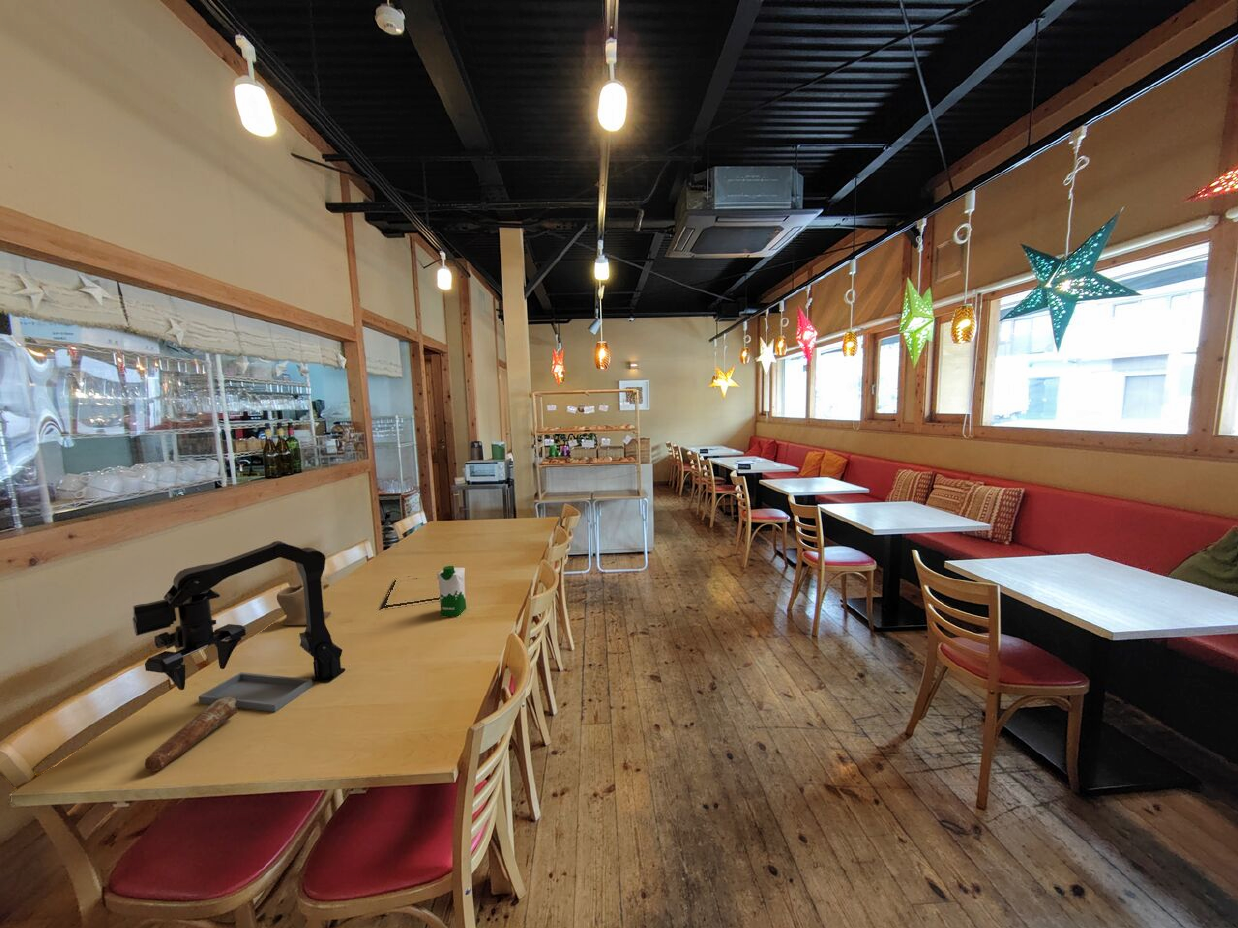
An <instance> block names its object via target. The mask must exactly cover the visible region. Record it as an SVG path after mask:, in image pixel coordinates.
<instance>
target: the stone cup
mask: <svg viewBox="0 0 1238 928" xmlns="http://www.w3.org/2000/svg"><path fill="white" fill-rule="evenodd" d="M276 600H277V601H276V602H277V603H278V605H279V607H280V608H281V609H282V611H283V612H284V613H285V616H286V617H285V618H284V619H282V621H281V625H283V626H307V621H306V611H305V600H304V589H303V583H300V584H293V585H290V586H287V587H285V588H283V589H282V590H280V591H279V592H278V593H277V594H276ZM331 614H332V611H324V619H325V620H326V619H327V618H328V617H330V616H331Z"/></svg>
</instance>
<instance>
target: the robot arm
mask: <svg viewBox="0 0 1238 928" xmlns="http://www.w3.org/2000/svg"><path fill="white" fill-rule="evenodd" d="M279 558H282V559H284V560H288V561H291V562H294V563H295V566H296V569H297V571H298V573H299V576H300V577H301V580H302V584H303V589H304V600H305V611H306V621H307V625H306V628H305V631H303V632H299V633H298V634H299V638H300V644H299V646H300V647H301V648H302V649H303V650H304V651H305V652H306V653H308V654H309V655H310V656H311V657H312V658H313V673H314V676H312V677H311V678H310V679H312V681H318V682H326V683H327V682H328V683H329V682H332V681H333V680H334V679H335V678H337V677H338V676H340V675H341V674H342V673H343V672H345V671H346V668H345V667H342V666H341V665H342V664H341V657H342V654H343V649H342V648H341V647H339V646H337V644H335V643H334V642H333V640H332V638H331V634H330V632H329V630H328V627H327V626H326V623H325V622H326V621H325V620H326V619H324V612H325V611H324V610H325V609H324V600H323V599H324V597H323V587H322V577H323V574H324V572H325V565H326V555H325V554H324V553H323V552H322V551H319V550H317V549H315V548H313V547H309V546H308V547H304V548H300V547H298V546H295V545H291V544H288V543H285V542H284V541H281V540H276V541H275V540H274V541H272V542H271V543H269V544H266V545H263V546H261V547H258V548H256V549H253V550H250V551H248V552H245V553H241V554H239V555H236V556H233V557H230V558H228V559H225V560H223V561H219V562H215V563H207V564H201V565H197V566H192V567H188V568H184V569H182V570H180V571H178V572H177V573H176V575H175V576H174V578H173V582H172V583H173V584H172V586H170V588H169V589H168V591H167V592H166V594H164V595H163V599H162V600H161V599H159V600H157V601H153V602H149V603H148V602H147V603H141V604H140V603H139V604H137V605H136V604H135V605H134V606H132V609H133V617H132V623H133V629H134V633H135V636H136V637H138V636H141V635H145V634H149V633H153V632H156V631H160V630H163V629H167V628H171V625H174V624H175V622H176V621H177V611H176V608H177V610H178V619H179V625H177V626H176V628H175V632H172V633H169V632H167V631H165V632H162V633H160V634H157V635H154V644H155V647H156V648H157V649H162V648H164V647H165V648H166V649H168V650H165V651H163V652H159V653H157V654H155V655H153V656H151V657H148V658H147V659H146V661H145V663H144V669H145V671H146V672H153V673H161V674H165V675H167V676H168V677H169V679H170V680H171V681H172V683H173V684H174V686H176V688H177V689H178V690H179V691H183V690H185V686H186V664H183V662H184V658H185V657H188V656H190V655H192V654H194V653H197V652H198V651H201V650H203V649H205V648H208V647H210V646H211V645H214V646H215V647H216V649H217V657H218V658H217V660H218V665H219V669H220V670H224V669H225V668H226V666H227V665H228V662H229V660H230V659H231V656H232V654H233V652H234V651H235V648H236V647H237V645H238V643H239V642H241V641H242V638H243V637H245V636H246V635H247V632H246V631H247V630H246V628H245V627H244V625H242V624H233V623H231V624H230V623H227V624H226V625H224V626H220V627H219V628H218V627H217V628H216V629H215V630H214V626H215V625H217V620H216V619H213V618H212V609H211V601H210V600H213V599H217V598H220V597H221V594H219V592H218V591H215V590H213V589H212V588H214V587H215V586H217V585H219V584H220V583H221V582H223V581H224V580H226V579H227V578H229V577H232V576H235V575H237V574H238V575H239V573H243V572H244V571H247V570H251V569H253V568H255V567H258V566H261V565H264V564H266V563H269V562H271V561H275V560H276V559H279ZM174 646H175V648H177V649H180V648H181V649H180V650H178V651H169V649H170V648H172V647H174Z"/></svg>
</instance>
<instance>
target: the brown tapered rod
mask: <svg viewBox="0 0 1238 928" xmlns="http://www.w3.org/2000/svg"><path fill="white" fill-rule="evenodd" d="M236 702H237V700H236V698H233V697H228V696H227V697H224V698H221V699H218V700H216V701H215V702H214V703H212V704H211V705H208V706H207V707H206V708H204V709H203V710H202V711H201V712H199V713H198V714H197V715H196V716H195V717H193V719H192V720H190V721H189V722H188V723H186V724H185V725H183V727H182V728H180V729H179V730H178V731H177V732H176V733H174V734H173V735H172V736H171V737H169V738H168V739H167V740H166V741H165V742H163V744H161V745H160V746H159V747H158V748H157V749H155V750H154V751H153V752H152V753H151V754H150V755H149V756H148V757H147V758H146V759H145V762H144V767H145V769H146V770H147V771H148V772H151V773H153V772H159V771H161V770H162V769H163V768H165V767H166V766H168V765H169V764H170V763H171V762H173V761H174V760H176V759H177V758H178V757H179V756H181V755H182V754H184V753H185V752H186V751H188V750H190V749H191V748H192V747H193V746H194V745H196V744H197V743H199V741H201V740H202V739H203V738H205V737H206V736H208V735H209V734H210V733H212V732H213V731H215V730H216V729H217V728H219V727H221V725H223V724H225V723H226V722H227V721H228V720H230V719H231V718H232V717H234V716H235V714H237V712H238V708H237V707H236Z"/></svg>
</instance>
